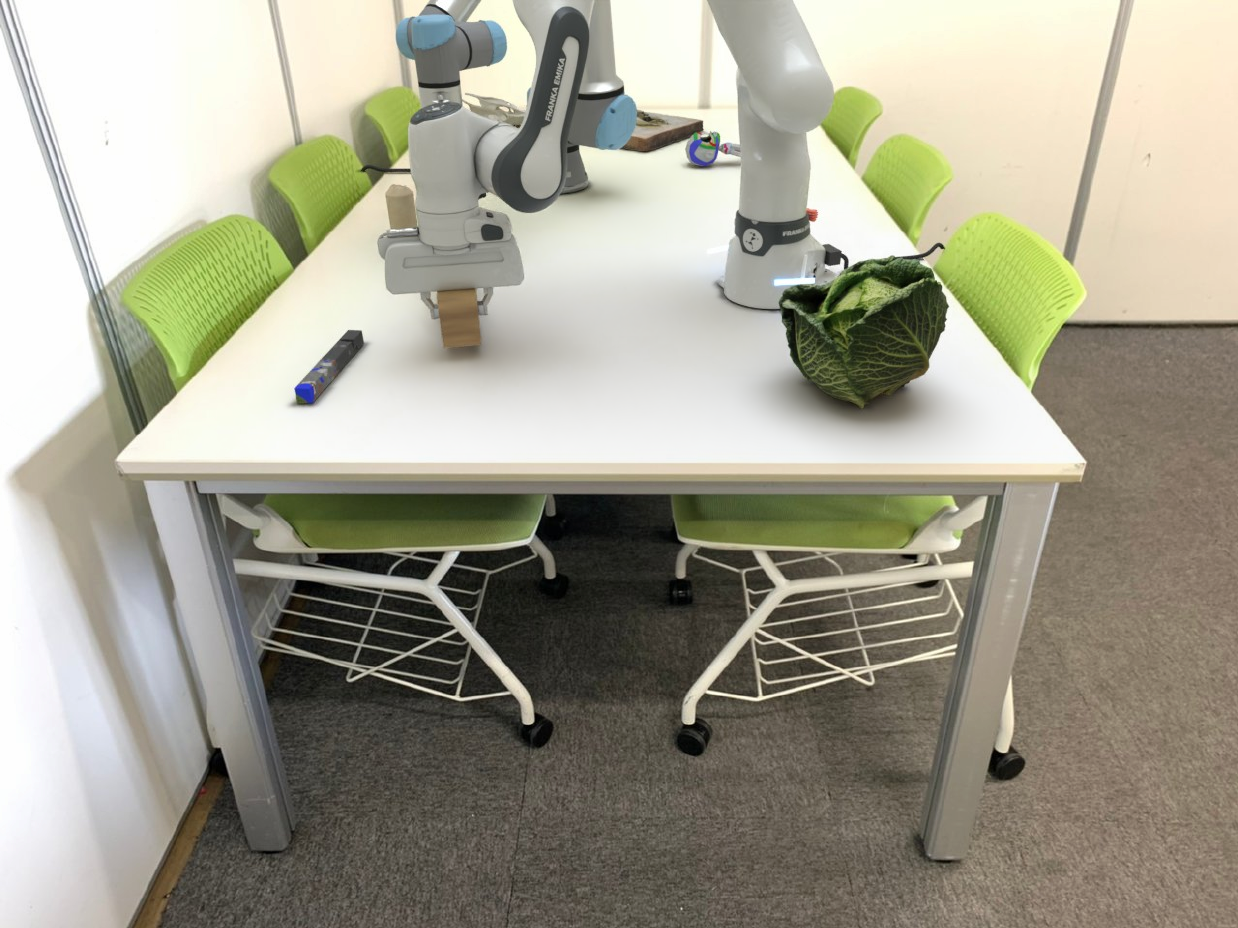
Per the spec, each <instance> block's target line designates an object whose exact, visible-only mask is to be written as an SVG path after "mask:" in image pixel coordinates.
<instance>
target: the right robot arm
mask: <svg viewBox="0 0 1238 928" xmlns="http://www.w3.org/2000/svg"><path fill="white" fill-rule="evenodd" d="M594 1H595V0H512V4H513V8H514V10H515V13H516V16H517V18H518V19H519V21H520V23H521V24H522V26H523V27H524V28H525V30H526V31H527V32H528V34H529V37H530V38H531V40H532V43H533V46H534V50H535V51H534V52H535V69H534V72H533V73H534V74H533V77H532V78H533V79H532V82H531V86H530V87H531V90H530V94H529V99H528V103H527V102H526V105H527V107H525V110H526V112H525V116H524V120H523V123H522V125H519V127H517V126H516V125H510V124H507V123H504V122H500V121H495V120H491V119H488V118H485V117H482V116H480V115H478V114H476V113H473V112H471V110H470V109H468V108H466V107H465V106H464V105H463V106H462V105H461V104H460V103H456V102H444V103H435V104H431V105H428V106H426V107H423V108H421V107H420V109H418V110H417V111H415V113H413V115H411V118H410V119H409V122H408V128H407V130H408V131H407V145H408V159H409V167H410V168H409V169H411V172H410V176H411V179H412V182H413V183H414V187H415V191H416V192H415V193H416V195H415V200H414V203H415V211H416V218H417V225H418V227H415V228H405V229H397V230H396V229H387V230H385V231H386V232H383V233H381V234H380V235H379V236H378V239H377V243H376V244H377V250H378V254H379V257H380V258H381V259H382V260H383V261H384V282H385V283H384V284H385V289H386V290H387V291H388V292H389V293H390V294H391V295H395V296H396V295H406V294H420V300H421V301H422V302H423V304H424V305H425V306H426V307H427V308H428V310H429V312H430V320H438V319H439V320H440V318H439V310H438V303H434V301H433V300H432V298H431V293H434V292H435V293H437V291H449V290H463V289H476V290H477V289H483V296H482V297H483V298H482V299H481V300H477V306H478V315H479V316H488V315H489V311H488V305H489V303H490V301H491V299H492V298H493V296H494V288H500V287H514V286H520V285H521V284H522V283H523V281H524V280H525V272H524V271H525V270H524V266H523V260H522V255H521V251H520V247H519V243H518V241H517V238H516V236H515V235H514V234H513V228H512V227H513V226H512V222H511V219H510V217H509V216H508V215H507V214H506V213H504V212H500V211H496V210H492V209H487V208H484V207H480V205H479V204H480V203H479V200H478V198H479V196H480V195H481V194H483V193H486V194H487V193H490V194H492V195H494V196H496V197H497V198H499V199H500V200H501V201H502V202H504V203H505V204H506V205H508V206H509V207H510V208H511V209H513V210H514V211H516V212H518V213H519V212H520V213H522V214H523V213H524V214H533V213H538V212H541V211H544V210H545V209H547V208H549V207H550V206H551V205H552V204H553V203H555V202H556V200H557V199H558V198H559V197H560V195H561V194H560V193H561V192H562V190H563V187H564V185H565V181H566V176H567V144H568V137H569V132H570V128H571V123H572V119H573V115H574V111H575V107H576V103H577V98H578V94H579V90H580V86H581V82H582V78H583V73H584V69H585V64H586V59H587V54H588V47H589V25H590V18H591V13H592V9H593V5H594ZM706 2H707V4H708V7H709V9H710V12H711V14H712V16H713V19H714V22H715V24H716V27H717V28H718V31H719V33H720V35H721V37H722V39H723V40H724V42H725V43H726V46H727V48H728V50H729V51H730V53H731V56H732V58H733V61H734V62H735V64H736V66H737V69H736V73H735V85H736V92H737V93H736V94H737V123H738V137H739V138H738V139H739V144H740V151H741V157H740V175H739V178H740V179H739V197H738V198H739V199H738V209H737V210H736V211H735V218H734V222H733V223H734V234H735V236H733V237H732V238H731V239H730V240H729V242H728V245H727V244H726V245H723V246H719V247H713V248H709V249H707V254H708V255H709V254H716V253H719V252H724V251H727V252H726V253H727V255H726V262H725V269H724V275H721V276H719V278H718V285H719V286H720V287H721V288H722V289H723V294H724V296H725V297H726V298H727V299H728V300H730V301H731V302H733V303H735V304H738V305H741V306H745V307H749V308H754V309H763V310H780V306H779V300H780V298H781V297H782V296H783V295H782V293H783V291H784V290H786V289H788V288H790V287H791V286H795V285H798V284H806V285H807V284H813V285H823V284H826V283H828V282H831V281H833V280H834V279H835V278H836V277H838V274H837V273H836V272H834V271H833V270H831V269H828V268H826V266H828V267H831V266H840V265H841V261H842V260H843V270H845V269H847V268H848V267H849V264H850V261H849V258H848V256H847V255H846V254H845V253H842V252H843V251H842V250H840V249H839V248H837V247H835V246H834V245H832V244H830V243H823V244H821V242H819V240H817V239H816V238H815V237H814V236H813V235H812V234H811V223H815V222H816V221H817V219H818V215H819V211H818V210H817V209H815V208H814V209H813V208H809V207H808V200H809V199H808V198H809V189H810V180H811V169H812V163H811V157H810V154H809V147H808V136H807V133H809V132H811V131H813V130H815V129H817V128H818V127H819V126H820V125H822V124H823V123H824V121H826V119H827V117H828V116H829V114H830V112H831V110H832V107H833V105H834V101H835V89H834V85H833V81H832V79H831V76H830V75H829V73H828V71H827V70H826V67H825V66H824V63H823V61H822V59H821V57H820V54H819V52H818V50H817V47H816V45H815V43H814V40H813V38H812V37H811V34H810V32H809V30H808V27H807V26H806V24H805V22H804V20H803V18H802V16H801V14H800V12H799V10H798V8H797V6H796V4H795V1H794V0H706ZM938 248H940V250H945V249H946V247H945V246H944V244H943V243H941V242H936V243H935V244H933V246H932V247H930V248H929V250H927V251H926V252H923V253H920V254H914V255H912V254H911V255H902V256H895V258H894V260H896V259H898V258H901V257H902V258H903V259H908V260H920V259H923V258H926V257H929V256H930V255H932V254H933V253H934V252H935V251H936V250H937V249H938ZM886 258H887V257H884V258H882V259H886Z"/></svg>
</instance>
